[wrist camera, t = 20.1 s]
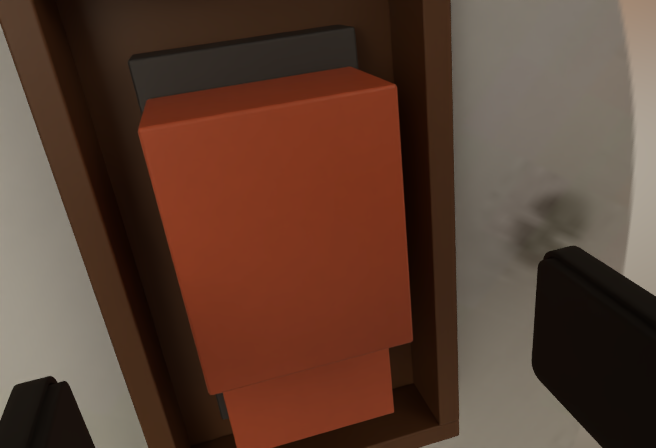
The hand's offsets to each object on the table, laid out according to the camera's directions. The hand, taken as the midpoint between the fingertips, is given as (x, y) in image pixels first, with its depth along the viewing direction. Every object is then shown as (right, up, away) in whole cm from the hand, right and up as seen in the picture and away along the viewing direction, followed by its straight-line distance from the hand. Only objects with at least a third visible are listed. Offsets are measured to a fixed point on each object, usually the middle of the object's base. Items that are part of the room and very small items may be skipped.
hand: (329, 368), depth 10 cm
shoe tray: (-2, +3, +8) cm, 9 cm away
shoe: (-2, +3, +7) cm, 8 cm away
